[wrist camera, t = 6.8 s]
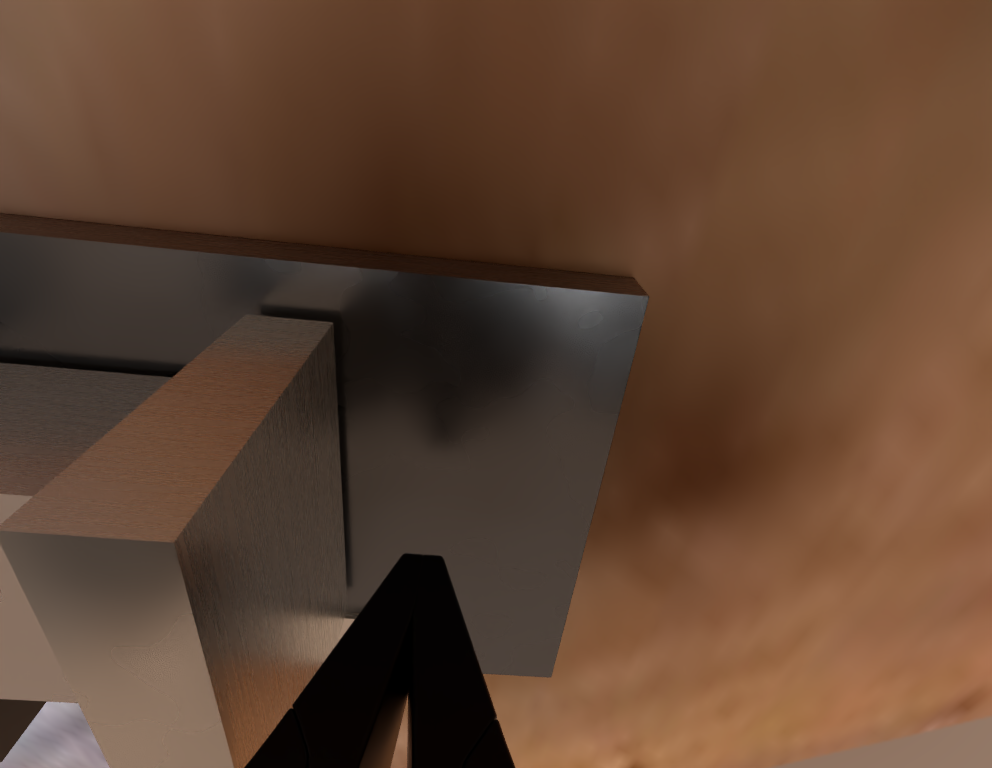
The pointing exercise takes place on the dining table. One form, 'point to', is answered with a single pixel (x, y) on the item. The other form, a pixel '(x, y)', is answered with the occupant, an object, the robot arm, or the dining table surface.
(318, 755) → the robot arm
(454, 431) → the gauge bench
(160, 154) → the dining table surface
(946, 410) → the dining table surface
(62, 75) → the dining table surface
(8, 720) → the charcoal cuboid
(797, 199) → the dining table surface
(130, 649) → the block with end plate
